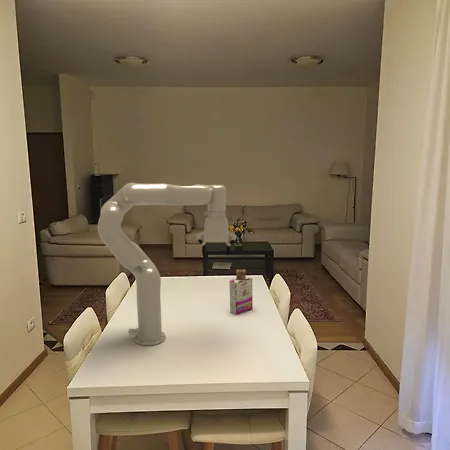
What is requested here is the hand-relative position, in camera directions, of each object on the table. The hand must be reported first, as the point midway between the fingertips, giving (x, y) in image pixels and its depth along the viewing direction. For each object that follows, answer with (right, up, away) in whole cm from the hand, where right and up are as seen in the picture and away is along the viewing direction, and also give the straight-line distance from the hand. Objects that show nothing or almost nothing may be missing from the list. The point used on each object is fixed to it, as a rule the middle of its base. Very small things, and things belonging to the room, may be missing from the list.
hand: (216, 254), depth 171 cm
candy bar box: (+12, -30, +27) cm, 42 cm away
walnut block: (+12, -13, +24) cm, 29 cm away
